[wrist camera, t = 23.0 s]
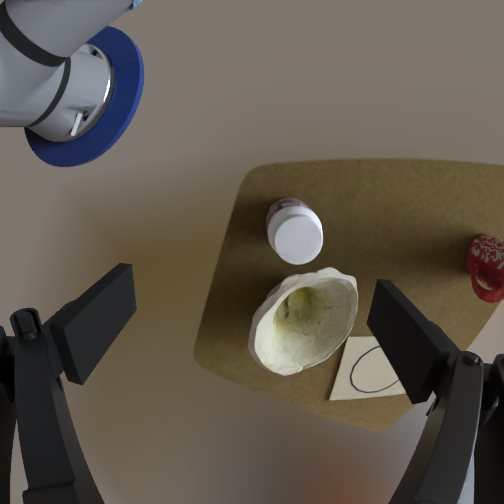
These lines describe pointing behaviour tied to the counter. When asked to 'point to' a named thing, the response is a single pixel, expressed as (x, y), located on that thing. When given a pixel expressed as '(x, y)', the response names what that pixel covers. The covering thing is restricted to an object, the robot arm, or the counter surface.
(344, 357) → the beige flat square sheet
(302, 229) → the pill bottle
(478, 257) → the mug
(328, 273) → the bowl
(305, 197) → the counter surface
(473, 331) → the counter surface
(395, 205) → the counter surface
